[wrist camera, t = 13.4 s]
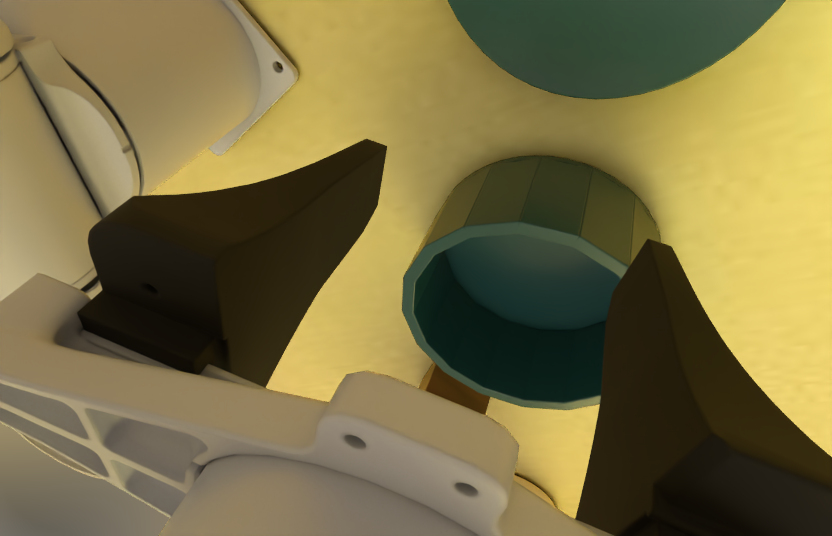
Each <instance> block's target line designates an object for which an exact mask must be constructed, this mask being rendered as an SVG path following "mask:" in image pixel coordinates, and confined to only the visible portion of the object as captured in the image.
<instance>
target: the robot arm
mask: <svg viewBox="0 0 832 536" xmlns="http://www.w3.org/2000/svg"><path fill="white" fill-rule="evenodd" d="M277 62H279V63H280V64H281V65H282V67H283V69H280V68H279V67H278V65H277ZM298 76H299V75H298V71H297V69H296V68H295V67H294V65H293V64H292V63H291V62H290V61H289V60H288V58H287V57H286V56H285V55H284V54H283V53H282V51H281V50H280V49H279V48H278V47H277V46H276V44H275V43H274V42H273V41H272V40H271V39H270V37H269V36H268V35H267V34H266V33H265V32H264V30H263V29H262V28H261V27H260V26H259V25H258V23H257V22H256V21H255V20H254V19H253V18H252V16H251V15H250V14H249V13H248V12H247V11H246V9H245V8H244V7H243V6H242V5H241V4H240V2H239V1H238V0H0V423H1V424H3V425H5V426H7V427H9V428H11V429H13V430H15V431H17V432H20V433H22V434H24V435H25V436H27V437H29V438H31V439H33V440H35V441H37V442H39V443H41V444H43V445H44V446H46V447H48V448H50V449H52V450H54V451H56V452H57V453H59V454H61V455H63V456H64V457H66V458H68V459H70V460H72V461H73V462H75V463H77V464H79V465H80V466H82V467H84V468H86V469H87V470H89V471H91V472H92V473H94V474H96V475H98V476H99V477H101V478H103V479H104V480H106V481H108V482H109V483H111V484H113V485H115V486H116V487H118V488H120V489H121V490H123V491H125V492H127V493H128V494H130V495H132V496H133V497H135V498H137V499H138V500H140V501H142V502H144V503H146V504H147V505H149V506H151V507H152V508H154V509H156V510H157V511H159V512H161V513H162V514H164V515H166V516H168V517H169V518H170V519H169V521H168V522H167V524H166V525H165V526H164V528H163V529H162V531H161V532H160V534H159V535H158V536H832V457H831V456H830V455H828V454H827V453H826V452H825V451H824V450H823V449H821V448H820V447H819V446H818V445H817V444H815V443H814V442H813V441H812V440H811V439H810V438H809V437H808V436H807V435H806V434H804V433H803V432H802V431H801V430H800V429H799V428H798V427H797V426H796V425H795V424H794V423H793V422H792V421H791V420H790V419H789V418H788V417H787V416H786V415H785V414H784V413H783V412H782V411H781V410H780V409H779V408H778V407H777V406H776V405H775V404H774V403H773V402H772V401H771V400H770V398H769V397H768V396H767V395H766V394H765V393H764V392H763V391H762V389H761V388H760V387H759V386H758V385H757V384H756V383H755V382H754V380H753V379H752V378H751V377H750V376H749V374H748V373H747V372H746V371H745V369H744V368H743V367H742V366H741V364H740V363H739V362H738V360H737V359H736V358H735V356H734V355H733V354H732V352H731V351H730V350H729V348H728V347H727V345H726V344H725V342H724V341H723V339H722V338H721V336H720V335H719V333H718V332H717V330H716V328H715V327H714V325H713V324H712V322H711V321H710V319H709V317H708V315H707V314H706V312H705V310H704V309H703V307H702V305H701V303H700V301H699V300H698V298H697V296H696V294H695V292H694V290H693V288H692V286H691V284H690V282H689V280H688V278H687V276H686V274H685V272H684V270H683V268H682V266H681V264H680V262H679V260H678V258H677V256H676V254H675V252H674V250H673V249H672V247H671V246H668V245H665V244H662V243H660V242H657V241H654V240H651V239H647V240H646V242H645V243H644V245H643V246H642V248H641V249H640V251H639V253H638V254H637V256H636V257H635V259H634V260H633V262H632V263H631V265H630V266H629V268H628V269H627V271H626V272H625V274H624V276H623V277H622V279H621V280H620V282H619V283H618V285H617V286H616V288H615V289H614V291H613V293H612V298H611V302H610V306H609V311H608V316H607V320H606V328H605V341H604V356H603V372H602V388H601V399H600V408H599V413H598V419H597V424H596V429H595V435H594V440H593V445H592V449H591V454H590V459H589V464H588V468H587V473H586V477H585V481H584V486H583V490H582V494H581V498H580V503H579V507H578V511H577V515H576V518H575V519H574V518H571V517H569V516H568V515H566V514H565V513H563V512H562V511H560V510H559V509H557V508H556V507H554V506H553V505H551V504H550V503H548V502H547V501H545V500H544V499H542V498H541V497H539V496H538V495H536V494H534V493H533V492H531V491H530V490H528V489H527V488H525V487H524V486H522V485H521V484H519V483H518V482H516V481H515V480H513V478H514V473H515V469H516V464H517V460H518V451H519V445H518V443H517V442H516V441H515V439H514V438H513V437H512V435H511V434H510V433H509V431H508V430H507V429H506V428H505V427H504V426H503V425H501V424H499V423H498V422H496V421H494V420H493V419H491V418H489V417H487V416H486V415H483V414H481V413H478V412H476V411H473V410H471V409H469V408H466V407H464V406H461V405H459V404H456V403H454V402H451V401H449V400H447V399H444V398H442V397H439V396H437V395H434V394H432V393H429V392H427V391H425V390H422V389H420V388H417V387H415V386H412V385H410V384H407V383H405V382H403V381H400V380H398V379H395V378H393V377H390V376H388V375H384V374H379V373H375V372H371V371H362V372H357V373H351V374H347V375H346V376H345V377H344V379H343V380H342V381H341V383H340V384H339V386H338V388H337V390H336V391H335V393H334V395H333V397H332V399H331V401H330V402H326V401H321V400H316V399H311V398H307V397H302V396H297V395H292V394H287V393H282V392H278V391H273V390H269V389H267V388H265V387H266V385H267V383H268V381H269V379H270V378H271V376H272V374H273V372H274V370H275V368H276V366H277V364H278V362H279V361H280V359H281V357H282V355H283V353H284V351H285V349H286V347H287V345H288V344H289V342H290V340H291V338H292V337H293V335H294V333H295V331H296V329H297V328H298V326H299V324H300V322H301V320H302V319H303V317H304V315H305V314H306V312H307V310H308V308H309V307H310V305H311V303H312V302H313V300H314V298H315V297H316V295H317V294H318V292H319V291H320V289H321V288H322V286H323V285H324V283H325V282H326V281H327V279H328V278H329V277H330V275H331V274H332V273H333V271H334V270H335V269H336V267H337V266H338V265H339V264H340V262H341V261H342V260H343V258H344V257H345V256H346V254H347V253H348V252H349V250H350V249H351V248H352V246H353V245H354V244H355V242H356V241H357V240H358V238H359V237H360V235H361V234H362V233H363V231H364V229H365V227H366V226H367V224H368V222H369V220H370V219H371V217H372V215H373V213H374V211H375V209H376V207H377V205H378V200H379V194H380V187H381V181H382V175H383V169H384V163H385V157H386V150H387V146H385V145H383V144H380V143H377V142H374V141H371V140H368V139H365V140H363V141H360V142H358V143H356V144H354V145H352V146H350V147H348V148H346V149H344V150H342V151H339V152H337V153H335V154H333V155H331V156H329V157H326V158H324V159H322V160H320V161H317V162H315V163H313V164H310V165H308V166H305V167H302V168H300V169H297V170H295V171H292V172H289V173H287V174H284V175H281V176H278V177H275V178H271V179H268V180H264V181H260V182H257V183H253V184H249V185H243V186H238V187H233V188H228V189H222V190H217V191H209V192H201V193H191V194H179V195H149V194H150V193H151V192H153V191H154V190H155V189H156V188H158V187H159V186H160V185H161V184H163V183H164V182H165V181H167V180H168V179H169V178H170V177H172V176H173V175H174V174H176V173H177V172H178V171H179V170H181V169H182V168H183V167H185V166H186V165H187V164H188V163H190V162H191V161H192V160H194V159H195V158H196V157H197V156H199V155H200V154H201V153H203V152H204V151H205V150H206V149H208V148H209V149H210V150H211V151H212V152H213V153H214V154H216V155H220V156H221V155H223V154H224V153H225V152H227V151H228V150H229V149H230V148H231V147H232V146H233V145H234V144H235V143H236V142H237V141H238V140H239V139H240V138H241V137H242V136H243V135H244V134H245V133H246V132H247V131H248V130H249V129H250V128H251V127H252V126H253V125H254V124H255V123H256V122H257V121H258V120H259V119H260V118H261V117H262V116H263V115H264V114H265V113H266V112H267V111H268V110H269V109H270V108H271V107H272V106H273V105H274V104H275V103H276V102H277V101H278V100H279V99H280V98H281V97H282V96H283V95H284V94H285V93H286V92H287V91H288V90H289V89H290V88H291V87H292V86H293V85H294V84H295V83H296V82H297V80H298ZM147 195H149V196H147Z"/></svg>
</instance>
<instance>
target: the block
mask: <svg viewBox="0 0 832 536" xmlns="http://www.w3.org/2000/svg"><path fill="white" fill-rule="evenodd" d="M419 388H420V389H422V390H425V391H427V392H429V393H432V394H434V395H437V396H439V397H442V398H444V399H447V400H449V401H451V402H454V403H456V404H459V405H461V406H464V407H466V408H469V409H471V410H473V411H476V412H478V413H481V414H483V415H485V413H486V410H487V406H488V403H489V400H490V396H487V395H483V394H481V393H479V392H477V391H475V390H473V389H472V388H470V387H468V386H467V385H465V384H463V383H462V382H460V381H458V380H457V379H455V378H453V377H452V376H450V375H448V374H447V373H445V372H444V371H443V370H442V369H441V368H440V367H439V366H438V365H437V364H436V363H435V362H434V363H433V364H432V366H431V367H430V369H429V370H428V372H427V374H426V375H425V377H424V378H423V380H422V381H421V384H420V386H419Z"/></svg>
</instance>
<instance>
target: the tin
mask: <svg viewBox="0 0 832 536" xmlns="http://www.w3.org/2000/svg"><path fill="white" fill-rule="evenodd" d="M647 239H651V240H654V241H657V242H660V243H661V241H660V234H659V231H658V230H657V227H656V224H655V222H654V220H653V218H652V216H651V215H650V213H649V211H648V209H647V208H646V207H645V206H644V204H643V203H642V202H641V201H640V199H639V198H638V197H637V196H636V195H635V194H634V193H633V192H632V191H631V190H630V189H629V188H628V187H626V186H625V185H624V184H622V183H621V182H619V181H618V180H617V179H615V178H614V177H612V176H610V175H608V174H607V173H605V172H603V171H601V170H599V169H597V168H594V167H592V166H589V165H587V164H585V163H581V162H578V161H574V160H570V159H566V158H559V157H553V156H524V157H515V158H511V159H506V160H502V161H499V162H496V163H493V164H490V165H488V166H486V167H484V168H481V169H479V170H477V171H476V172H474V173H473V174H471V175H470V176H468V177H467V178H465V179H464V180H463V181H462V182H461V183H460V184H459V185H457V186H456V187H455V188H454V190H453V191H452V193H451V194H450V195H449V197H448V198H447V200H446V202H445V203H444V205H443V206H442V208H441V209H440V211H439V212H438V214H437V215H436V217H435V219H434V221H433V223H432V225H431V227H430V228H429V230H428V232H427V234H426V236H425V238H424V239H423V241H422V243H421V245H420V247H419V249H418V251H417V252H416V254H415V256H414V258H413V260H412V262H411V264H410V265H409V267H408V269H407V271H406V273H405V275H404V277H403V298H402V311H403V314H404V316H405V319H406V321H407V323H408V325H409V327H410V330H411V332H412V334H413V336H414V339H415V341H416V343H417V345H418V346H419V347H420V348H421V349H422V350H423V351H424V352H425V353H426V354H427V355H428V356H429V357H430V358H431V359H432V360H433V361H434V362H435V363H436V364H437V365H438V366H439V367H440V368H441V369H442V370H443V371H444V372H445V373H447V374H448V375H450V376H452V377H453V378H455V379H457V380H458V381H460V382H462V383H463V384H465V385H467V386H468V387H470V388H472V389H473V390H475V391H477V392H479V393H481V394H483V395H487V396H490V397H493V398H496V399H499V400H502V401H506V402H509V403H512V404H515V405H518V406H521V407H529V408H543V409H556V410H572V409H577V408H582V407H587V406H593V405H598V404H600V399H601V388H602V372H603V356H604V341H605V328H606V320H607V316H608V311H609V306H610V302H611V298H612V293H613V291H614V289H615V288H616V286H617V285H618V283H619V282H620V280H621V279H622V277H623V276H624V274H625V272H626V271H627V269H628V268H629V266H630V265H631V263H632V262H633V260H634V259H635V257H636V256H637V254H638V253H639V251H640V249H641V248H642V246H643V245H644V243H645V242H646V240H647Z"/></svg>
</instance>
